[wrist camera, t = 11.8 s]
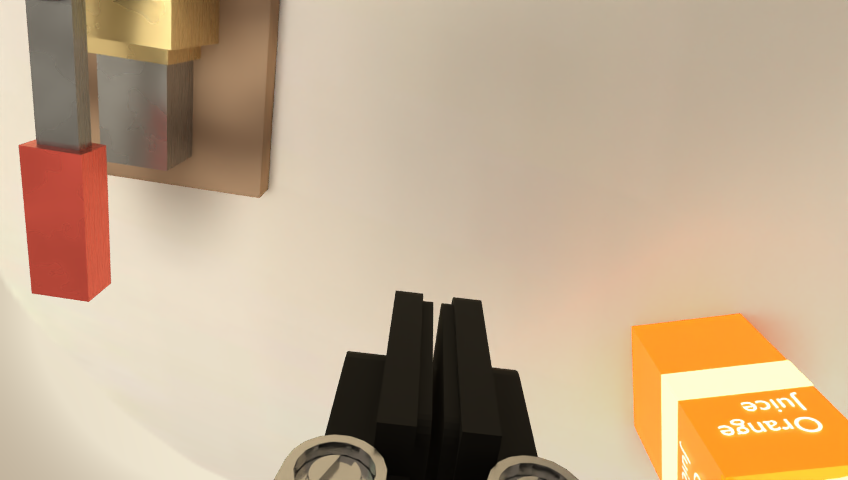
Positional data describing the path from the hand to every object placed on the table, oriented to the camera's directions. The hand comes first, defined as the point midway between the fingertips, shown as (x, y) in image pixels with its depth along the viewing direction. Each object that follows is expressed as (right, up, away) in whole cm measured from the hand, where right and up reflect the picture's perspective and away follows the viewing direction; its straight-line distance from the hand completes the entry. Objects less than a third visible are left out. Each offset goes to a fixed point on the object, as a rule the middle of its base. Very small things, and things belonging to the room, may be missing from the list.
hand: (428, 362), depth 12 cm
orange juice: (+19, -7, +32) cm, 38 cm away
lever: (-16, +8, +15) cm, 23 cm away
